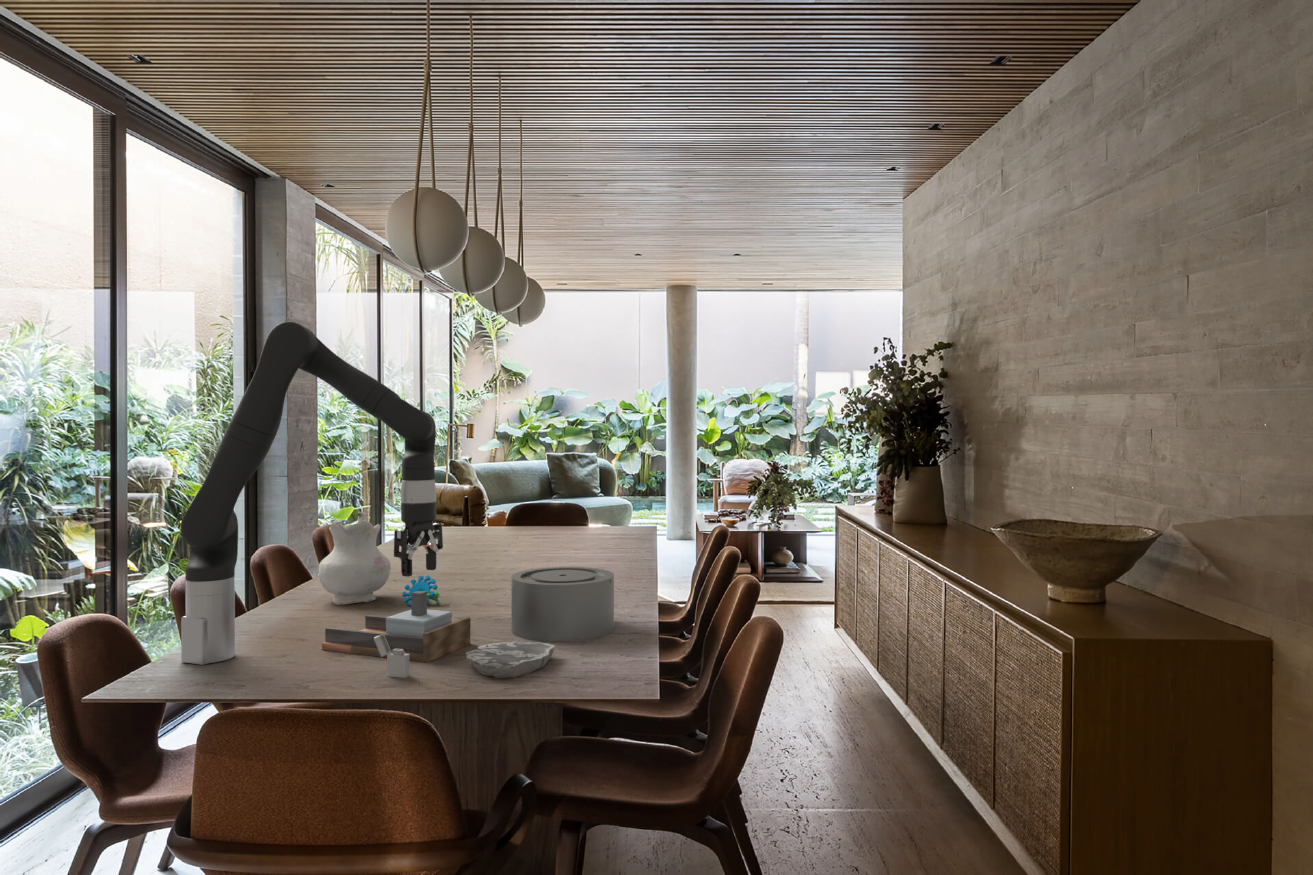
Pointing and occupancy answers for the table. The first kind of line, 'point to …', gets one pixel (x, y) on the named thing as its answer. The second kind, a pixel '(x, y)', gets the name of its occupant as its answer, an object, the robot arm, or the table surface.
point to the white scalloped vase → (354, 563)
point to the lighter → (393, 658)
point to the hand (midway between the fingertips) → (419, 572)
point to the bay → (399, 639)
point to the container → (562, 604)
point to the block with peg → (417, 618)
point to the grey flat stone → (510, 658)
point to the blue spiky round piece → (422, 589)
